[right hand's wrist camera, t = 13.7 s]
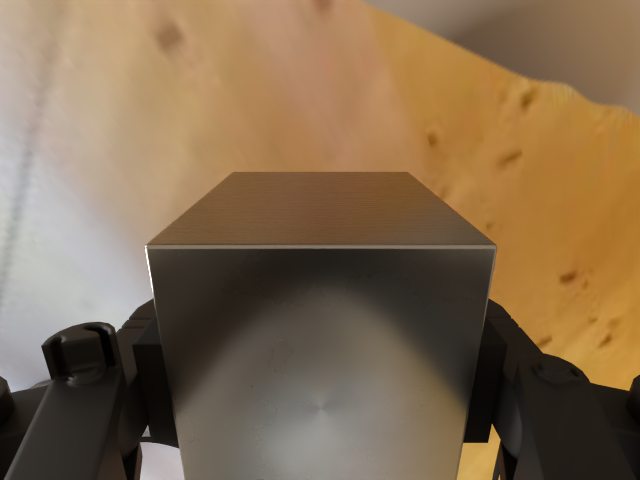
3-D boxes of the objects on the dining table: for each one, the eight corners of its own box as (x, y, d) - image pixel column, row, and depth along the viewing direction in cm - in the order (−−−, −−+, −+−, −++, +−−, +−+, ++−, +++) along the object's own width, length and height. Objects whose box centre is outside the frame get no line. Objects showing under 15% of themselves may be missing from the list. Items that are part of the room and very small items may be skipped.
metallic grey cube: (408, 171, 13) (499, 245, 7) (394, 344, 16) (449, 526, 9) (232, 171, 13) (141, 245, 7) (246, 344, 16) (191, 525, 9)
